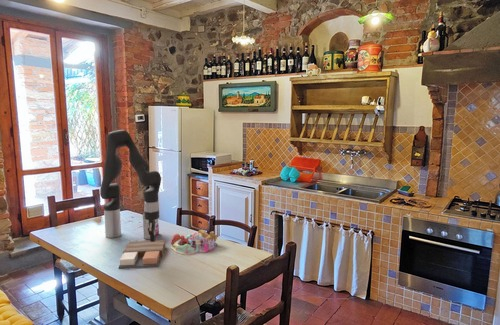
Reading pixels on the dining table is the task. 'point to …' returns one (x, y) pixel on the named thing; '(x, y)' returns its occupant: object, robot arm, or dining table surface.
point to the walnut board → (145, 247)
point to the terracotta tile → (151, 257)
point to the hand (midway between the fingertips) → (152, 241)
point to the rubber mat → (140, 264)
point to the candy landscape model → (194, 243)
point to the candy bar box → (145, 227)
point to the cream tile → (128, 258)
